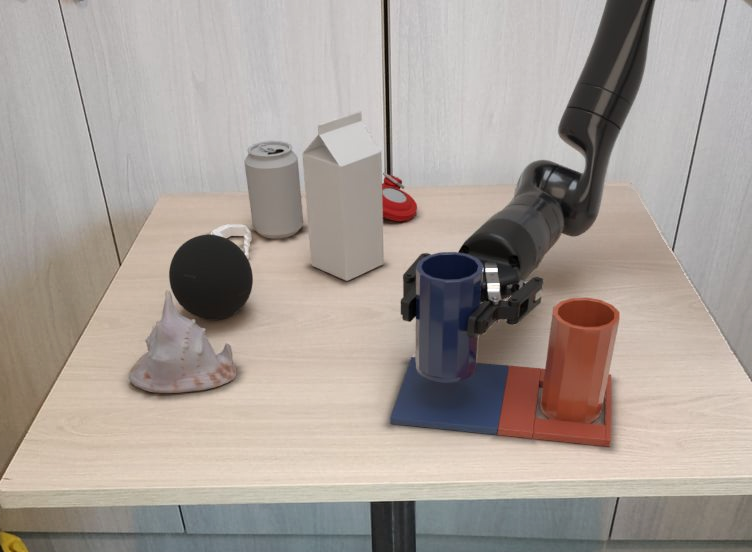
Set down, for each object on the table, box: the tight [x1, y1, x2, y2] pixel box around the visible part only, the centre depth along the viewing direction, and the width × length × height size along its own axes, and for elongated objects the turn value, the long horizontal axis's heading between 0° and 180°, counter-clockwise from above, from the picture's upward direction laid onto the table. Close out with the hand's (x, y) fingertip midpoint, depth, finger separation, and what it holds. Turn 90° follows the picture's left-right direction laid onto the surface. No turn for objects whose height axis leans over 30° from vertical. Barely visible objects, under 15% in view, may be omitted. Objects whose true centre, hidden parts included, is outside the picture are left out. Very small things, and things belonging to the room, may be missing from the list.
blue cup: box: [414, 251, 484, 383], centre depth 80 cm, size 6×6×11 cm
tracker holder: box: [382, 171, 418, 222], centre depth 124 cm, size 12×4×10 cm
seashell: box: [128, 289, 238, 394], centre depth 89 cm, size 10×12×9 cm
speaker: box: [168, 234, 254, 321], centre depth 98 cm, size 10×10×10 cm
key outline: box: [210, 223, 253, 260], centre depth 116 cm, size 13×5×2 cm, turn 23°
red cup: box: [539, 297, 621, 424], centre depth 81 cm, size 6×6×11 cm
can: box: [244, 140, 304, 240], centre depth 117 cm, size 8×8×12 cm
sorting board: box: [389, 356, 612, 447], centre depth 86 cm, size 22×12×1 cm, turn 77°
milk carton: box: [301, 110, 385, 282], centre depth 105 cm, size 7×7×19 cm
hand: (438, 320), depth 78 cm, fingers closed on blue cup, 6 cm apart
